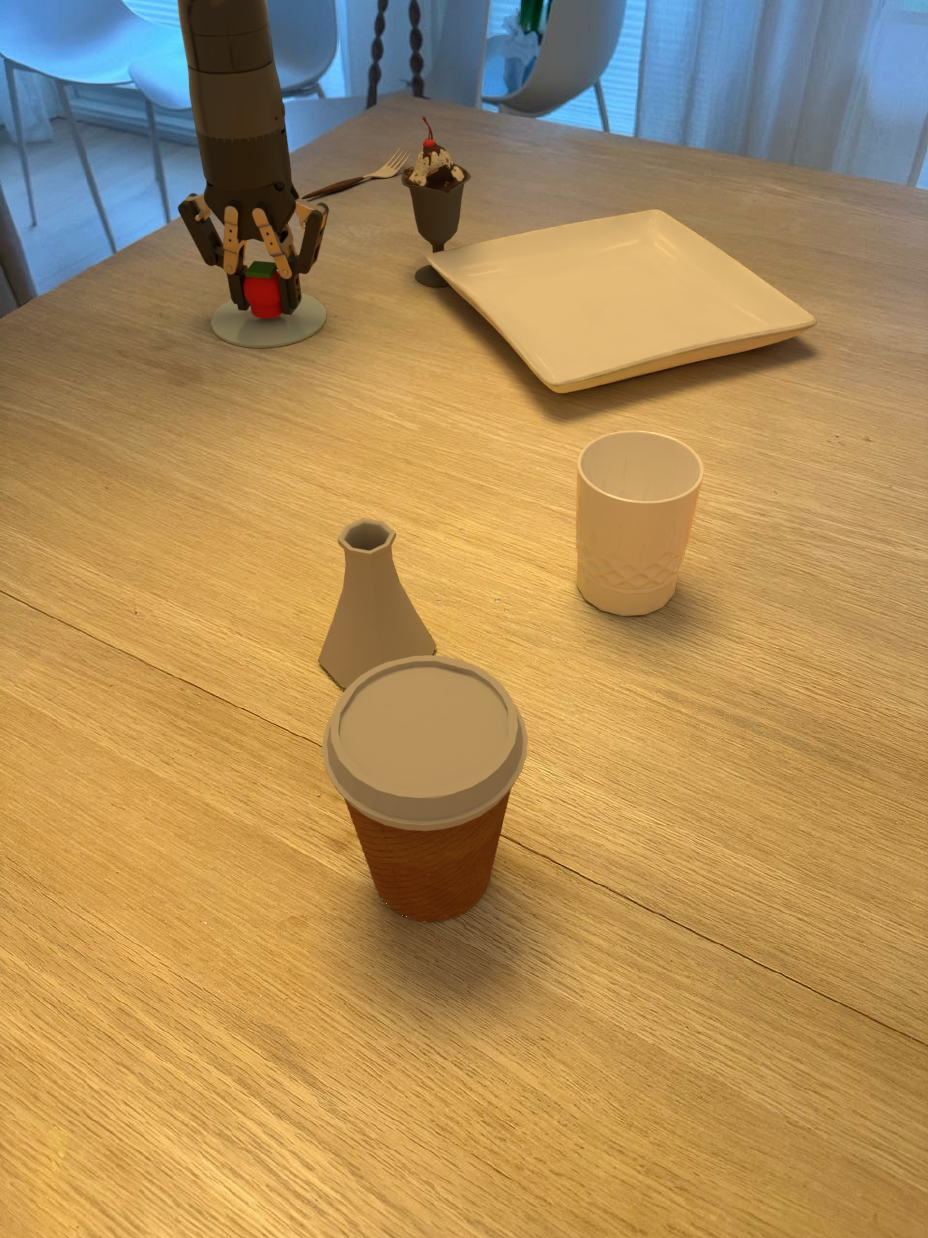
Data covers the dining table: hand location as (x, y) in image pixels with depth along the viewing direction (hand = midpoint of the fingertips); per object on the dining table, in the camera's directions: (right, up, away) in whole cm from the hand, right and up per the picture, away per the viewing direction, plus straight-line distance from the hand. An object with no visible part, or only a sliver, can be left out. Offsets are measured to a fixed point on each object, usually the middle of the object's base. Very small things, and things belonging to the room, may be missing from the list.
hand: (268, 308), depth 100 cm
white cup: (+30, -27, -27) cm, 49 cm away
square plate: (+32, -1, 0) cm, 33 cm away
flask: (+13, -32, -32) cm, 47 cm away
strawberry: (0, 0, 0) cm, 0 cm away
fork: (+6, +22, +25) cm, 34 cm away
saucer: (0, -1, +1) cm, 1 cm away
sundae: (+16, +5, +7) cm, 18 cm away
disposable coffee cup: (+17, -43, -44) cm, 64 cm away
